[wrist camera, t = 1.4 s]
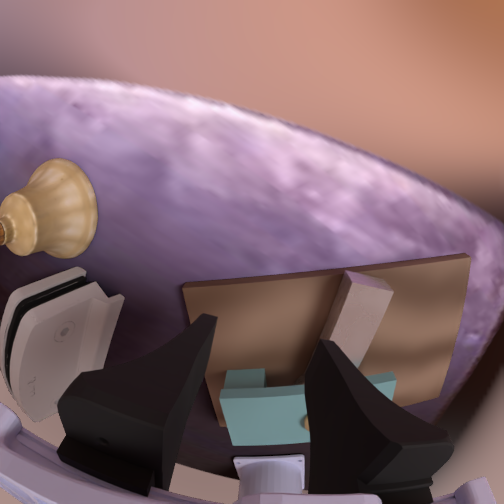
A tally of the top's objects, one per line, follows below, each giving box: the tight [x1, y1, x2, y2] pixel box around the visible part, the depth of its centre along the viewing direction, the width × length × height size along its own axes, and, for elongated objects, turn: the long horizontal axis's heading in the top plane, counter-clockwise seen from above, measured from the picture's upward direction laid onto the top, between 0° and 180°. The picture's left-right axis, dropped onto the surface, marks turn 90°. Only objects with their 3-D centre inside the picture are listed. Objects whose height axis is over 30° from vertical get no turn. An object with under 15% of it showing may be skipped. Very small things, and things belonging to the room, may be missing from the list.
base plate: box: [182, 253, 471, 427], centre depth 23 cm, size 15×22×1 cm
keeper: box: [219, 368, 397, 445], centre depth 21 cm, size 6×12×4 cm, turn 96°
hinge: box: [0, 267, 125, 422], centre depth 21 cm, size 17×5×10 cm, turn 151°
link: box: [293, 270, 394, 386], centre depth 20 cm, size 12×4×2 cm, turn 166°
